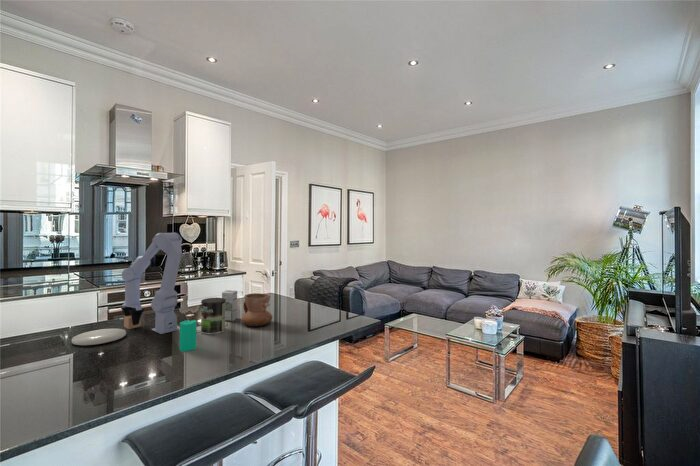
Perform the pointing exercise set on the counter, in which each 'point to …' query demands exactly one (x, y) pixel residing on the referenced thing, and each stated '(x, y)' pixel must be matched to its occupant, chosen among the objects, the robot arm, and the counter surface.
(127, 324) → the block
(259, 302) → the ceramic jug
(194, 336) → the candle
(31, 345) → the counter surface
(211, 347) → the counter surface
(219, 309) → the glass jar
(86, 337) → the dish
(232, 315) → the syrup box
